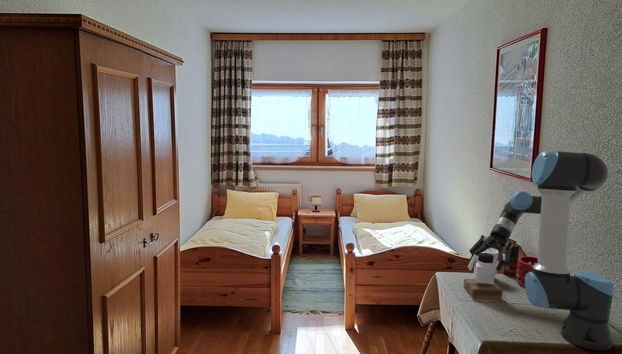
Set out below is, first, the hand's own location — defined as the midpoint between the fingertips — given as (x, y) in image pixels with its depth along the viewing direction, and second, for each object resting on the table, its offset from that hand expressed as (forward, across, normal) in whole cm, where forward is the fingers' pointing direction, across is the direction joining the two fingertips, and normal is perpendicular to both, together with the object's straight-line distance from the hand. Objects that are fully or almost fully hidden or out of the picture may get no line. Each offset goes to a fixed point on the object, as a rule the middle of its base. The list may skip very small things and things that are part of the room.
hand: (480, 272), depth 188 cm
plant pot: (-14, -9, -29) cm, 34 cm away
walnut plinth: (+5, 0, -9) cm, 11 cm away
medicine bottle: (+1, 0, -6) cm, 6 cm away
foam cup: (-9, +10, -24) cm, 27 cm away
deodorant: (-18, +4, -33) cm, 38 cm away
